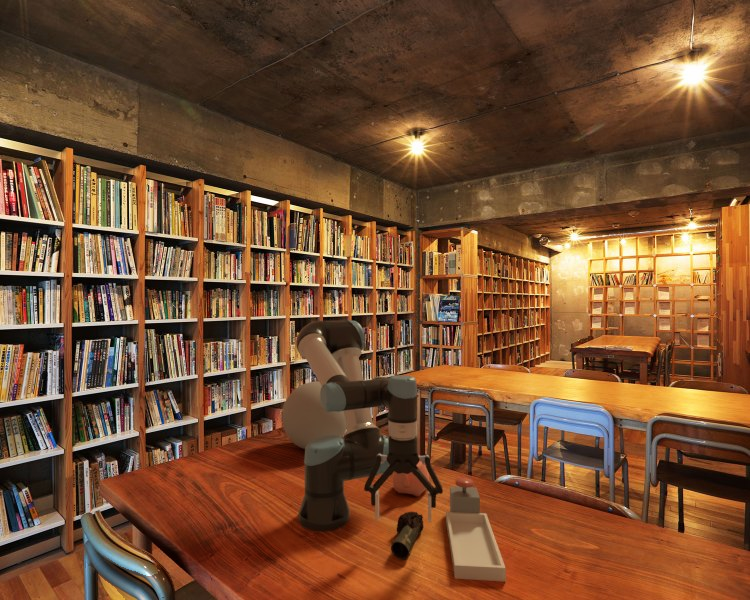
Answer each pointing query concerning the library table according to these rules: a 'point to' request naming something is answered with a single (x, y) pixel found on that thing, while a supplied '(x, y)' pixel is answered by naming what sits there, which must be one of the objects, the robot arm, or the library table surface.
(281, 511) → the library table surface
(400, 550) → the metal pipe
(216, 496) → the library table surface
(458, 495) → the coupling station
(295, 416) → the sphere
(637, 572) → the library table surface
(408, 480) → the teapot
